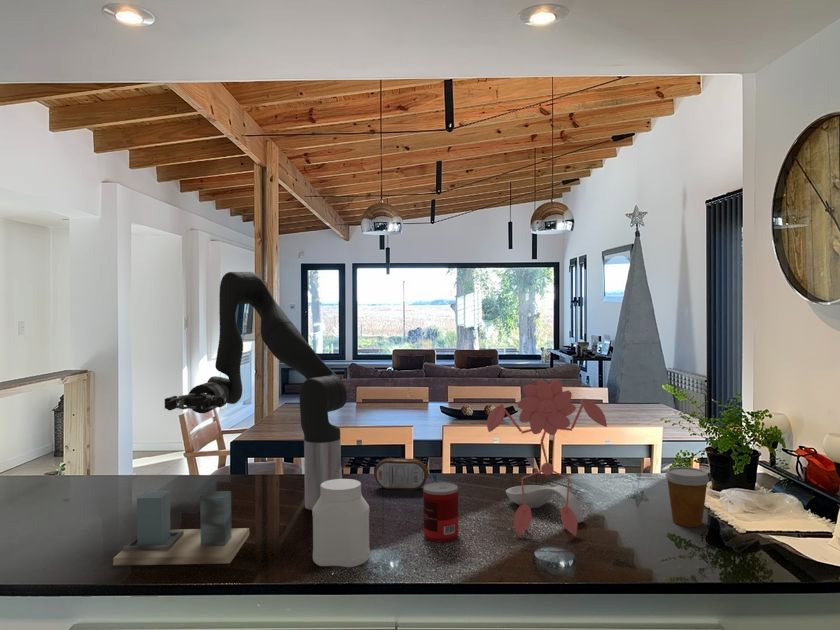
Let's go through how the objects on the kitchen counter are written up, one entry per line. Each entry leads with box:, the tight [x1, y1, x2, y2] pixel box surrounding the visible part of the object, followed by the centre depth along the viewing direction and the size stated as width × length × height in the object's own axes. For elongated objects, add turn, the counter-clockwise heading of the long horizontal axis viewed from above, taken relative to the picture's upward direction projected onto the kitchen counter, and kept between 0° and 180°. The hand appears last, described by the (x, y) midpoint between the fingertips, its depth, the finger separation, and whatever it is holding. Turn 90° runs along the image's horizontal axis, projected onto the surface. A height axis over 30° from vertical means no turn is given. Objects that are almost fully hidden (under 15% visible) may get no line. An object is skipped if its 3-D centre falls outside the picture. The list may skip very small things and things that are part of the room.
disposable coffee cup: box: [664, 466, 710, 528], centre depth 148 cm, size 10×10×12 cm
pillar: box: [136, 490, 171, 546], centre depth 134 cm, size 5×5×10 cm
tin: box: [374, 457, 429, 491], centre depth 178 cm, size 15×3×8 cm, turn 84°
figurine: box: [486, 378, 608, 554], centre depth 138 cm, size 15×26×35 cm, turn 85°
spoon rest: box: [505, 484, 585, 524], centre depth 158 cm, size 24×12×7 cm, turn 29°
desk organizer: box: [112, 490, 250, 566], centre depth 134 cm, size 23×16×12 cm
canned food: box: [422, 481, 459, 543], centre depth 140 cm, size 8×8×11 cm
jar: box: [311, 478, 371, 568], centre depth 129 cm, size 12×10×15 cm
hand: (186, 405), depth 154 cm, fingers open, 8 cm apart
